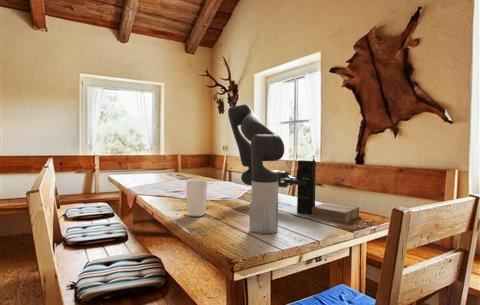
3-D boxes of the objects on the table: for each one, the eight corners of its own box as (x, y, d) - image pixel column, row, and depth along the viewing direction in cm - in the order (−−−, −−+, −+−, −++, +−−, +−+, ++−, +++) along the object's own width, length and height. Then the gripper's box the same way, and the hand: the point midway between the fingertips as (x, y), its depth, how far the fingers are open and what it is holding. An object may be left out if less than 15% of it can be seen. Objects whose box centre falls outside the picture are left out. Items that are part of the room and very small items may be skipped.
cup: (202, 218, 119) (202, 181, 119) (185, 217, 121) (185, 180, 120) (207, 213, 126) (207, 179, 126) (191, 213, 128) (191, 178, 127)
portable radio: (294, 212, 129) (294, 155, 128) (298, 209, 135) (298, 154, 134) (312, 214, 126) (313, 155, 125) (315, 211, 131) (316, 155, 130)
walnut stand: (345, 223, 113) (345, 212, 113) (311, 216, 123) (311, 207, 122) (358, 216, 124) (359, 206, 123) (327, 211, 133) (327, 202, 133)
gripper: (269, 171, 134) (300, 174, 123) (286, 169, 144) (317, 172, 134) (268, 188, 134) (300, 192, 123) (286, 185, 145) (316, 188, 134)
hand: (309, 182), depth 129 cm, fingers open, 8 cm apart
